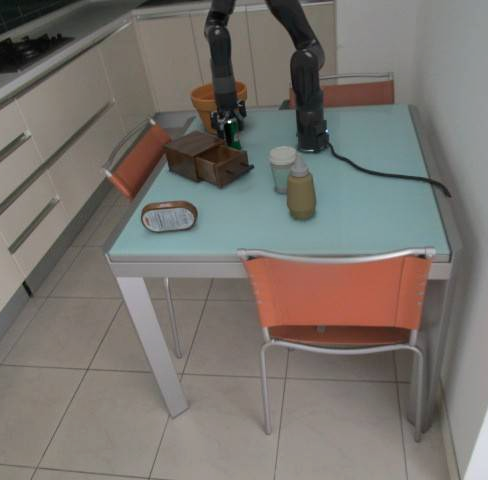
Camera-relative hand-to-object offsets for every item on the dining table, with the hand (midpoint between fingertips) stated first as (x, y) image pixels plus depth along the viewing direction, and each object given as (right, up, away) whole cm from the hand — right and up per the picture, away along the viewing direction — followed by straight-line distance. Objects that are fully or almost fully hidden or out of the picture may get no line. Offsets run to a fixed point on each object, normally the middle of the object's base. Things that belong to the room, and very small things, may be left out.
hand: (231, 135), depth 161 cm
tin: (-13, -34, -34) cm, 50 cm away
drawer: (0, -16, -15) cm, 22 cm away
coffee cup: (+18, -21, -22) cm, 35 cm away
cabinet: (-10, -12, -6) cm, 17 cm away
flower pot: (-4, +7, +20) cm, 22 cm away
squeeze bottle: (+22, -29, -34) cm, 50 cm away
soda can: (+1, -5, +3) cm, 6 cm away
